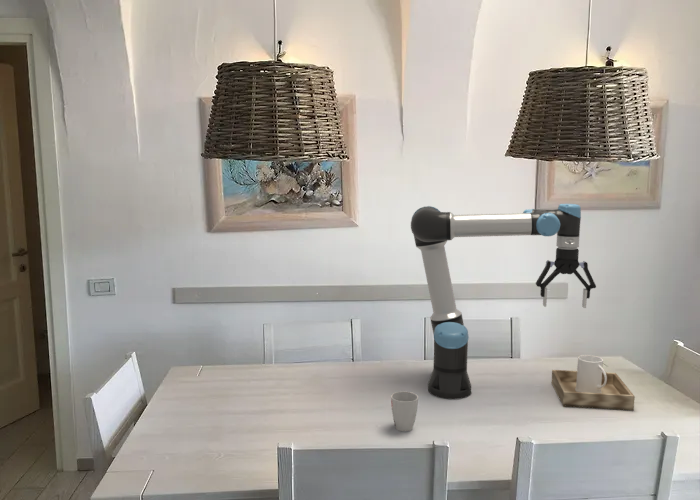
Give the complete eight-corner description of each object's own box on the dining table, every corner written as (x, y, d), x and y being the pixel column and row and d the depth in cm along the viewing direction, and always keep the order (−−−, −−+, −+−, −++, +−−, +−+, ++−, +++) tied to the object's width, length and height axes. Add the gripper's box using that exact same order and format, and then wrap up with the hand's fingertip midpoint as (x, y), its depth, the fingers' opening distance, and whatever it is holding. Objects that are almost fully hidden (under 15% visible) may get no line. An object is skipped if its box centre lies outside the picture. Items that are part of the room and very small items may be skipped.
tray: (563, 406, 200) (564, 392, 199) (551, 382, 222) (552, 369, 221) (633, 410, 197) (634, 396, 196) (614, 386, 218) (615, 372, 218)
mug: (613, 398, 205) (616, 364, 203) (592, 401, 202) (594, 366, 201) (590, 386, 216) (592, 353, 214) (570, 388, 213) (572, 355, 212)
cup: (400, 419, 190) (401, 389, 188) (422, 427, 185) (423, 395, 183) (385, 428, 184) (385, 397, 182) (407, 436, 179) (408, 404, 177)
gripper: (532, 248, 212) (529, 307, 215) (607, 250, 208) (603, 310, 212) (529, 245, 219) (526, 302, 223) (601, 247, 216) (598, 305, 219)
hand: (564, 306), depth 217 cm, fingers open, 13 cm apart
